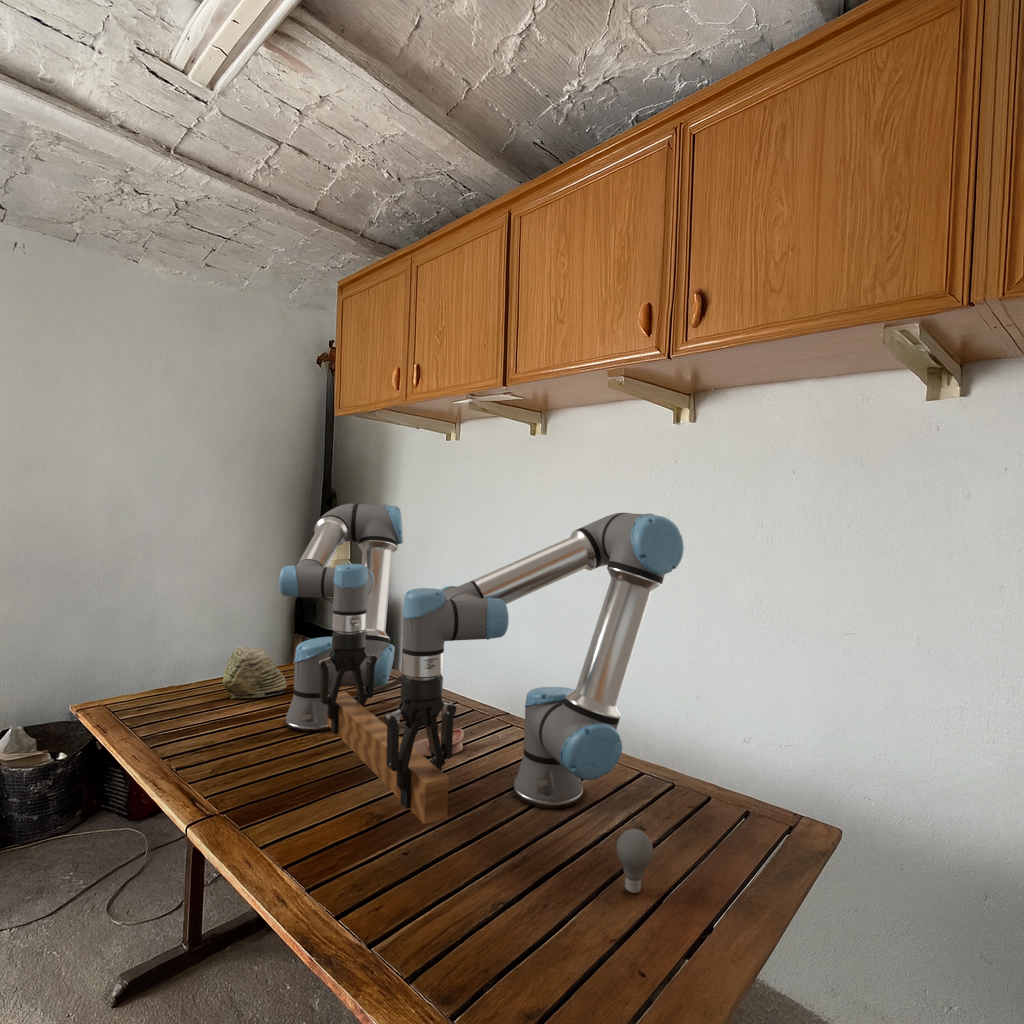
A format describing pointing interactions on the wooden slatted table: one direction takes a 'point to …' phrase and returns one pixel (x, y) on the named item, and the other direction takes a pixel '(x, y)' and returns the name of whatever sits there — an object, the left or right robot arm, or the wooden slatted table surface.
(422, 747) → the anatomical model
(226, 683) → the fossil
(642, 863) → the light bulb
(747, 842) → the wooden slatted table surface
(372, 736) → the bar
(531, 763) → the right robot arm
